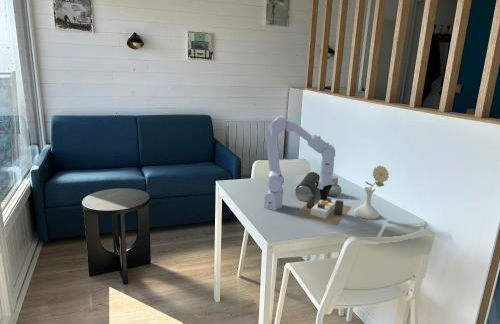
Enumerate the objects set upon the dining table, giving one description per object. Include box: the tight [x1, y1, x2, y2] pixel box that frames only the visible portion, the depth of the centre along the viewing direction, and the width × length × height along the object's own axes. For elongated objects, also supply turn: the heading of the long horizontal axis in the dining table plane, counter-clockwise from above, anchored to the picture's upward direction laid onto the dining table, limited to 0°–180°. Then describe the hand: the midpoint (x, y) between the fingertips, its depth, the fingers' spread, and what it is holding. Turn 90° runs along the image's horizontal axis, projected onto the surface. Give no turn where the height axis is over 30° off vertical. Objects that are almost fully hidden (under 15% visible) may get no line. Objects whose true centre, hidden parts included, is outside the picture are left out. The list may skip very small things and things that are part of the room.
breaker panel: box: [293, 197, 352, 226], centre depth 171 cm, size 26×20×6 cm
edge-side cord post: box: [334, 199, 344, 215], centre depth 167 cm, size 4×4×6 cm
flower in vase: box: [353, 165, 390, 220], centre depth 165 cm, size 13×11×25 cm
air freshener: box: [328, 175, 342, 197], centre depth 196 cm, size 11×8×10 cm
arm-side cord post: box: [306, 194, 316, 209], centre depth 173 cm, size 4×4×6 cm
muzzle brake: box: [294, 171, 320, 202], centre depth 195 cm, size 10×28×10 cm
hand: (323, 200), depth 168 cm, fingers closed
